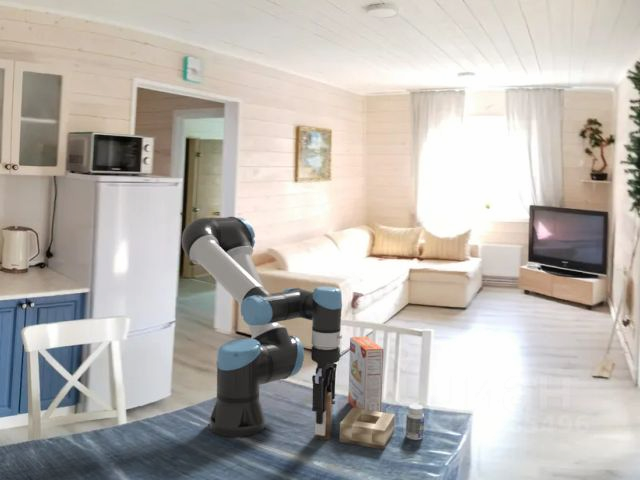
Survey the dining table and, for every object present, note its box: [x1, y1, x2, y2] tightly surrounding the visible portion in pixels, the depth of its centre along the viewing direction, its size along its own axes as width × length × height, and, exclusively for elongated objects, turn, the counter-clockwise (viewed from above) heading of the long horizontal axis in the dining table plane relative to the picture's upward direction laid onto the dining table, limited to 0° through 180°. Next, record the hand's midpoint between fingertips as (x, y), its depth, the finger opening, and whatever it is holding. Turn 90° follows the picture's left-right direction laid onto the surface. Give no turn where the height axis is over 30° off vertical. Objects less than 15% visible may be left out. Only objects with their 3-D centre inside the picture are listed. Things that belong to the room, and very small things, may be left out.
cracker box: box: [347, 336, 384, 412], centre depth 178 cm, size 14×6×21 cm, turn 16°
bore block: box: [338, 407, 396, 450], centre depth 160 cm, size 12×12×5 cm
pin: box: [314, 391, 332, 441], centre depth 159 cm, size 4×4×12 cm
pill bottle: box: [405, 403, 425, 441], centre depth 161 cm, size 5×5×8 cm
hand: (322, 430), depth 159 cm, fingers closed on pin, 4 cm apart
